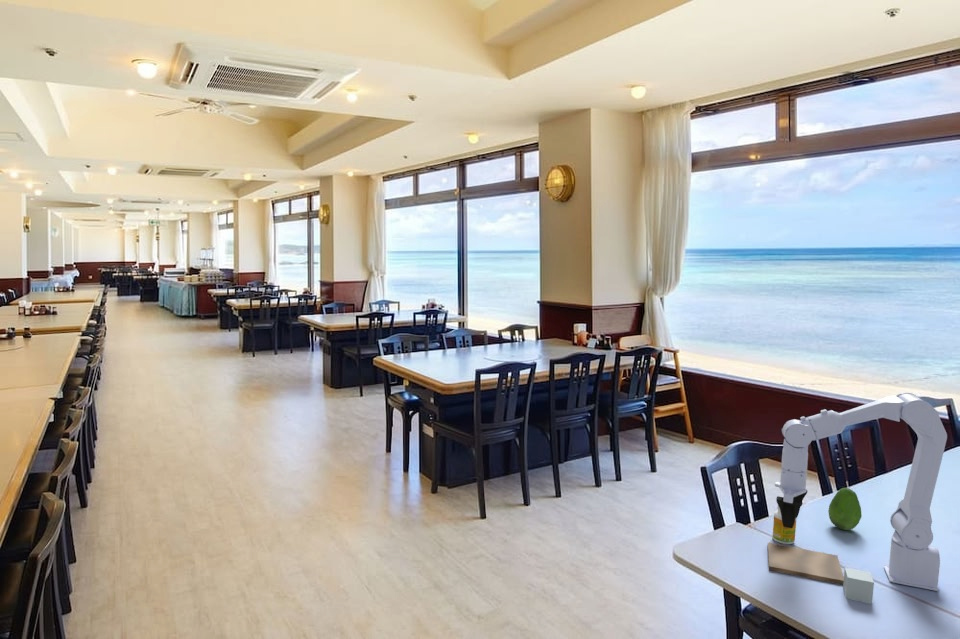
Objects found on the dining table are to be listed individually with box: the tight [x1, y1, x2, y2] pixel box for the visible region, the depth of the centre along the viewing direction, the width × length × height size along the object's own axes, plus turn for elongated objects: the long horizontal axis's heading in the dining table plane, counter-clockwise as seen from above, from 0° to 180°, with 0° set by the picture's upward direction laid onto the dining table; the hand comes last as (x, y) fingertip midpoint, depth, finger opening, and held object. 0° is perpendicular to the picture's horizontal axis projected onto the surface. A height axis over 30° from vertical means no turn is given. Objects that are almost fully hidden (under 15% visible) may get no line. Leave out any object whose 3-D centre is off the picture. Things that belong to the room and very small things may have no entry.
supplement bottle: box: [772, 505, 797, 545], centre depth 168 cm, size 5×5×10 cm
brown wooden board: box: [767, 542, 844, 586], centre depth 155 cm, size 16×14×1 cm
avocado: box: [828, 487, 862, 531], centre depth 177 cm, size 8×8×12 cm
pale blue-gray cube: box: [842, 567, 875, 605], centre depth 141 cm, size 5×5×5 cm
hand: (790, 521), depth 157 cm, fingers open, 7 cm apart
